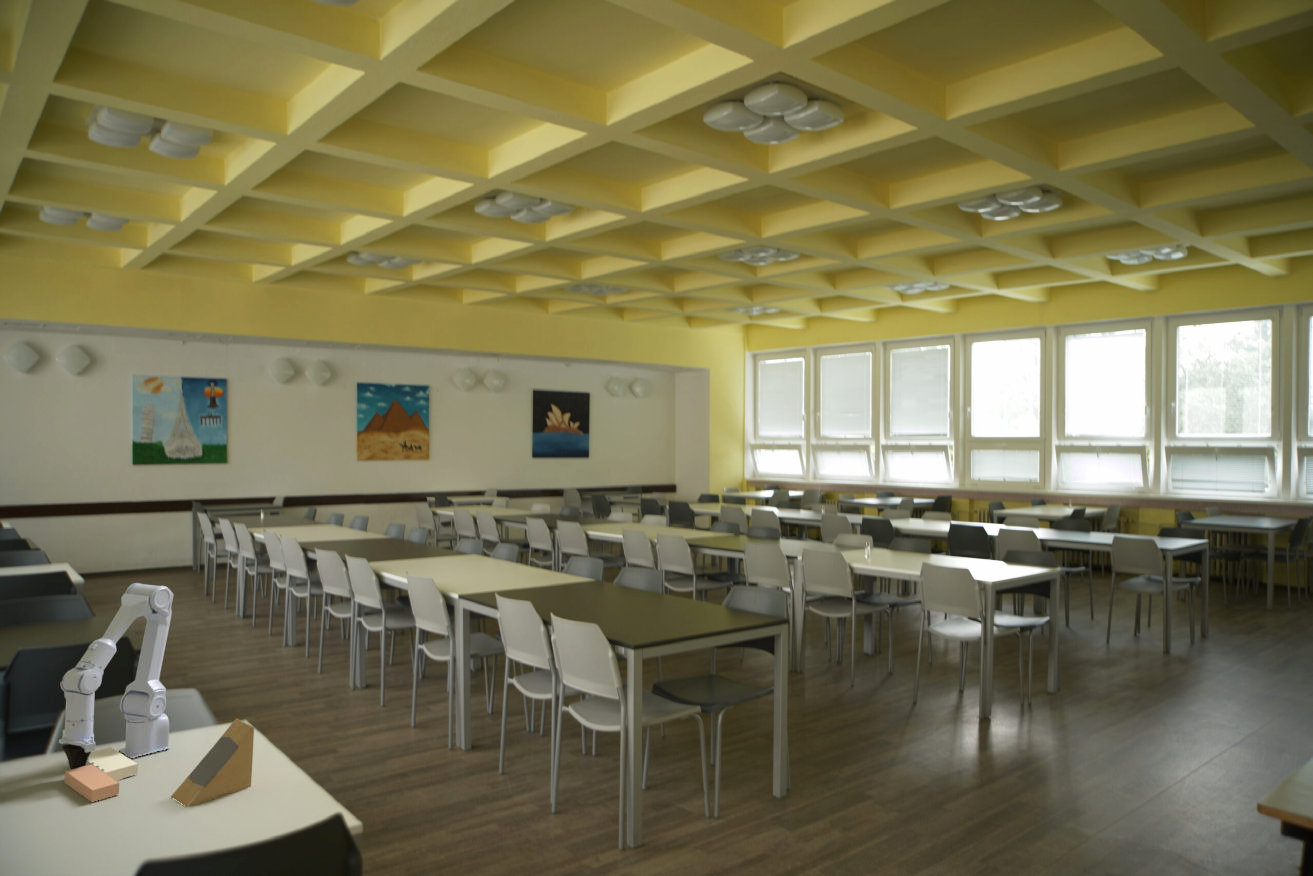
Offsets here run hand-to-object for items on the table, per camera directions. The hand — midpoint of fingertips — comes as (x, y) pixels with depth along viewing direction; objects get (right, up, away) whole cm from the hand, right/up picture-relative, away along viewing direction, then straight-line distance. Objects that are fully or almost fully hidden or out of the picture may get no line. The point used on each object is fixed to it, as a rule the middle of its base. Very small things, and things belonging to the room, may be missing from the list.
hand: (77, 773), depth 204 cm
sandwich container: (+35, -3, -4) cm, 35 cm away
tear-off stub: (+7, -1, -6) cm, 9 cm away
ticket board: (+4, -1, +5) cm, 6 cm away
